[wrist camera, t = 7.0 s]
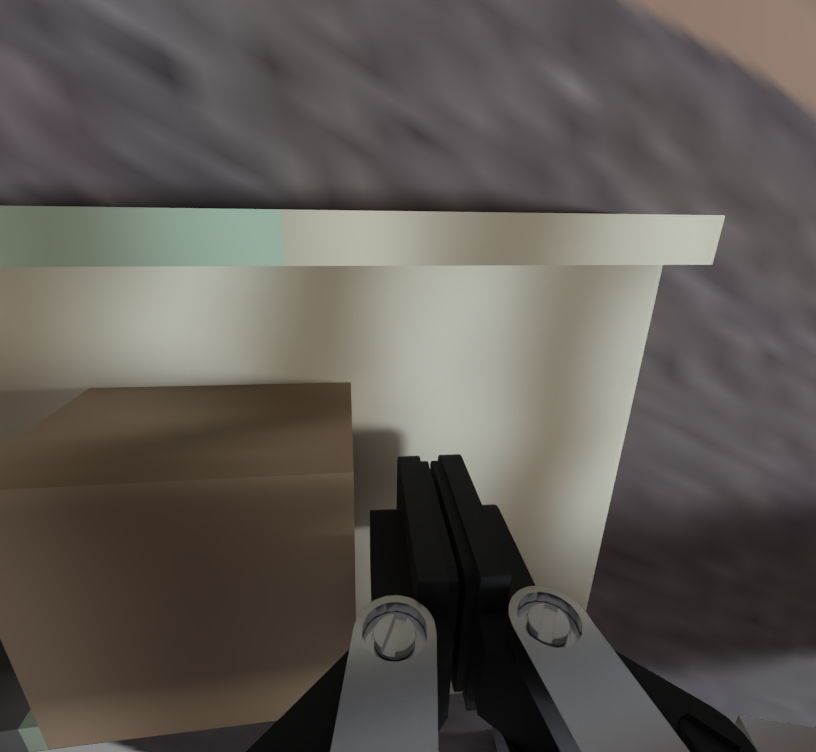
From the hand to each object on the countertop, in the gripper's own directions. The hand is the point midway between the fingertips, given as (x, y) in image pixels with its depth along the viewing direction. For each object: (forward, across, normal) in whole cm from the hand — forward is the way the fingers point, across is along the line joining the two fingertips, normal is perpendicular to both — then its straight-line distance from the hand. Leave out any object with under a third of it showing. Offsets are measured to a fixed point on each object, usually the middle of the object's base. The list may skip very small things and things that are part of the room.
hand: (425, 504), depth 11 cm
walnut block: (+1, +5, 0) cm, 5 cm away
